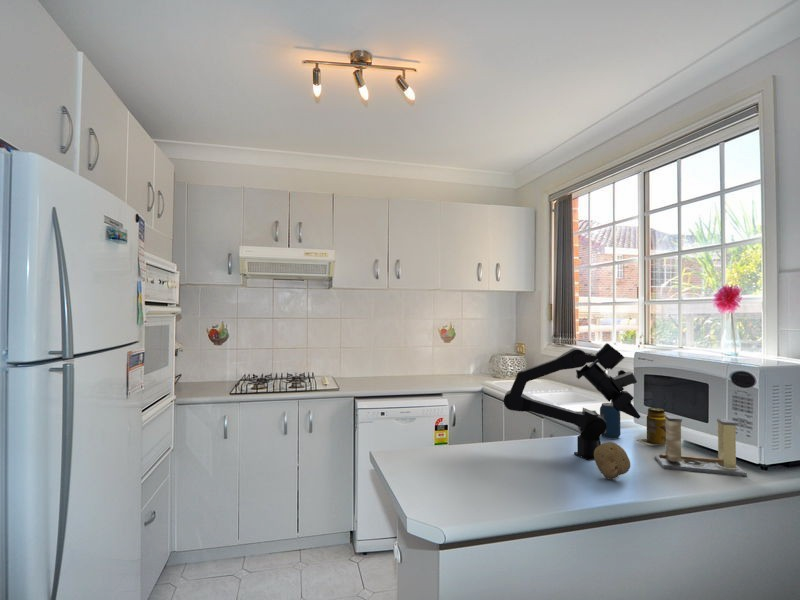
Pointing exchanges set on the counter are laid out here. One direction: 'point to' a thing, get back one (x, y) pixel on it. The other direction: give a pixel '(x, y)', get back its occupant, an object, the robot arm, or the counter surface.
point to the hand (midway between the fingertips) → (638, 417)
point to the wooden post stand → (710, 465)
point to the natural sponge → (611, 460)
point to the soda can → (610, 421)
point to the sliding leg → (673, 438)
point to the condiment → (655, 427)
